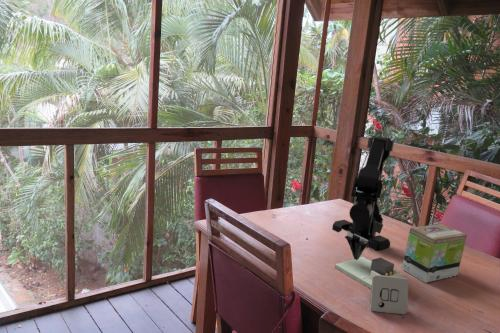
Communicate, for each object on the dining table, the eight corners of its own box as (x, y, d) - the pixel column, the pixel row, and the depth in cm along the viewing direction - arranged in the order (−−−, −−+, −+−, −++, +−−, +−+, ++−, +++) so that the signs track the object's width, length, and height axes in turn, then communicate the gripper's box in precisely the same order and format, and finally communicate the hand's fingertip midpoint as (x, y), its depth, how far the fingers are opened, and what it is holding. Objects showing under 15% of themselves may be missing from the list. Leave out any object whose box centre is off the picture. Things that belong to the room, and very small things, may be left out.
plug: (378, 272, 124) (380, 257, 123) (391, 279, 120) (394, 264, 119) (369, 274, 122) (372, 259, 121) (383, 282, 118) (385, 266, 117)
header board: (334, 267, 128) (336, 254, 127) (361, 259, 135) (363, 247, 134) (378, 293, 114) (380, 279, 113) (405, 283, 122) (408, 269, 120)
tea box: (426, 284, 122) (435, 239, 118) (400, 269, 130) (408, 226, 127) (458, 276, 129) (468, 233, 125) (432, 262, 137) (440, 222, 134)
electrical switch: (370, 311, 105) (374, 277, 104) (365, 302, 110) (370, 270, 109) (406, 316, 104) (411, 282, 103) (400, 306, 109) (405, 274, 108)
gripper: (404, 219, 122) (396, 266, 126) (357, 201, 137) (350, 243, 141) (382, 225, 116) (373, 274, 120) (334, 205, 131) (328, 249, 134)
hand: (356, 259), depth 129 cm, fingers closed
